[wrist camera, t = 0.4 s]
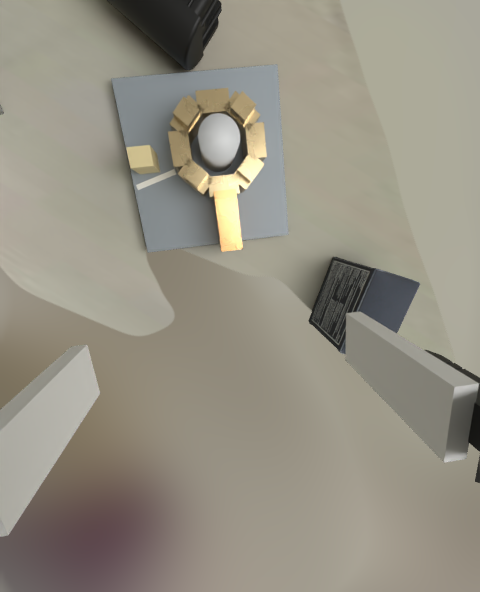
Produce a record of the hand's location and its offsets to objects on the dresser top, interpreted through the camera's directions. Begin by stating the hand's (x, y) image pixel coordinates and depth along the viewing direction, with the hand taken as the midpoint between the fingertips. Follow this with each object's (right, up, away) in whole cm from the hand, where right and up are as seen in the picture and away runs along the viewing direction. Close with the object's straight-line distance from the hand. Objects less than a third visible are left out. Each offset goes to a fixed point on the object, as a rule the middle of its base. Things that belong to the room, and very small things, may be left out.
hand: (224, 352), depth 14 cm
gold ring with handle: (-2, +17, +19) cm, 26 cm away
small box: (+16, +3, +27) cm, 32 cm away
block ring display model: (-3, +19, +21) cm, 28 cm away
